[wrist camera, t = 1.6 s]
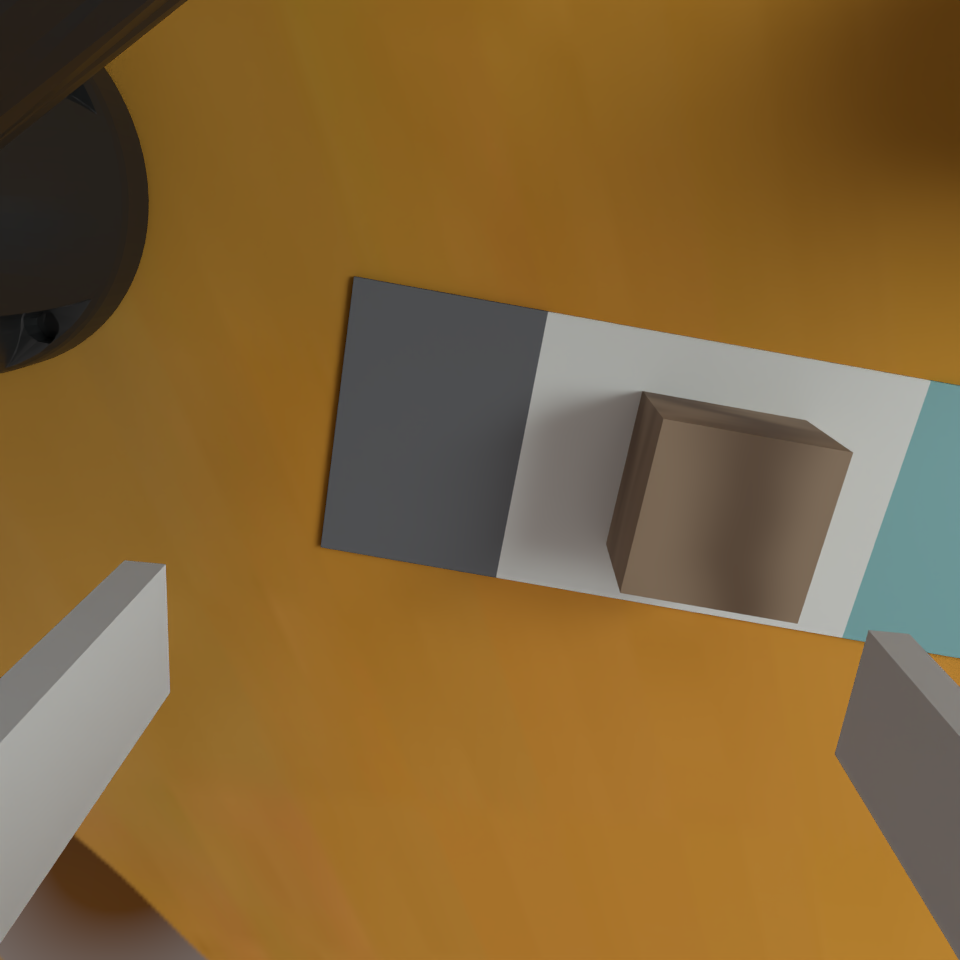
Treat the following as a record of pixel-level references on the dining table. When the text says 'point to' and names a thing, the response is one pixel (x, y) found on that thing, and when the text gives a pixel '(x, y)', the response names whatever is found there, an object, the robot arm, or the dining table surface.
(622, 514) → the walnut block
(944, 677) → the robot arm
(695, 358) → the tile
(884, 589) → the pad
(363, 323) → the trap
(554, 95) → the dining table surface
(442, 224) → the dining table surface
